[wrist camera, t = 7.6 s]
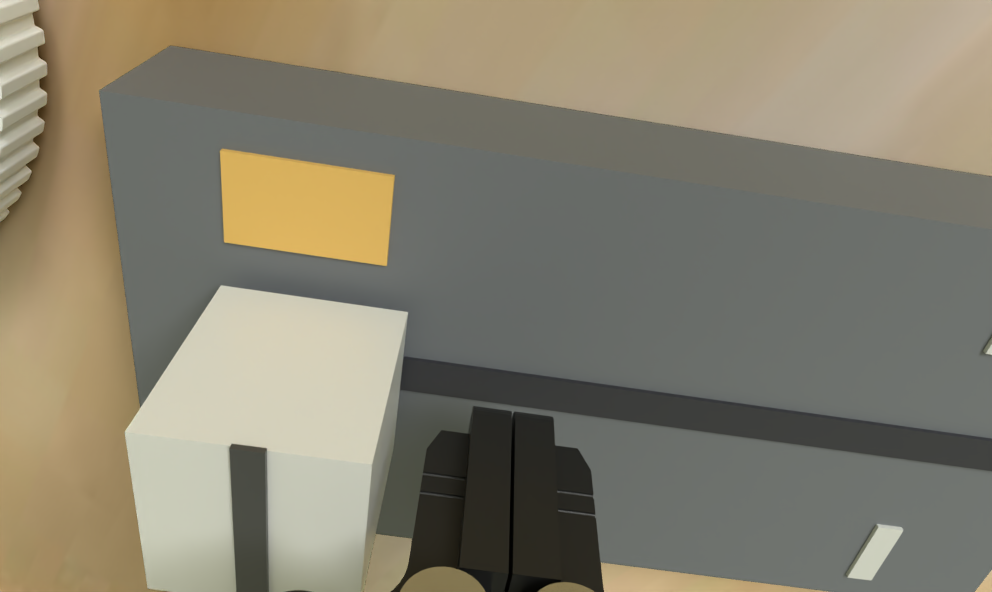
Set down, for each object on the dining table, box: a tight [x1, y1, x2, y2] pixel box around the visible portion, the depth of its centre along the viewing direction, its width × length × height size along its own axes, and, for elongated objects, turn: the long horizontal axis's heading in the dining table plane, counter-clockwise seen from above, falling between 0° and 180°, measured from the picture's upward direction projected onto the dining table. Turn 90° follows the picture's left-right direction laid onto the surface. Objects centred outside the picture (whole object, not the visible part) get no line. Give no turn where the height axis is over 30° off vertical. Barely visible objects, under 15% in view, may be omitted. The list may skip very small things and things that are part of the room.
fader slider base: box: [99, 46, 992, 592], centre depth 17 cm, size 10×20×3 cm, turn 81°
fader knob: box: [125, 285, 408, 592], centre depth 13 cm, size 4×4×4 cm
